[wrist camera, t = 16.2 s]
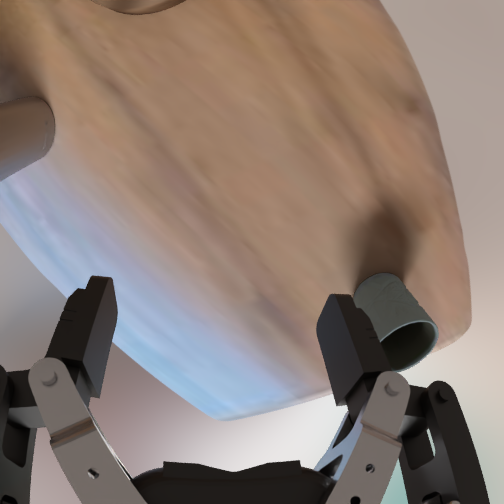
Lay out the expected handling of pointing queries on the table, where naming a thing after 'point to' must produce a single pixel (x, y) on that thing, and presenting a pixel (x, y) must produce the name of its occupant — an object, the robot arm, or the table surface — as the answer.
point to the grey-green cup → (397, 320)
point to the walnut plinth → (138, 5)
